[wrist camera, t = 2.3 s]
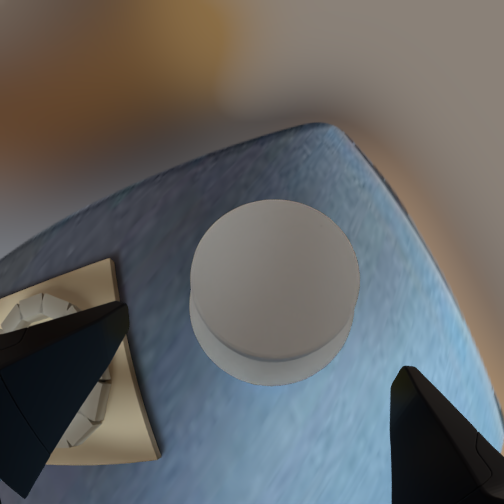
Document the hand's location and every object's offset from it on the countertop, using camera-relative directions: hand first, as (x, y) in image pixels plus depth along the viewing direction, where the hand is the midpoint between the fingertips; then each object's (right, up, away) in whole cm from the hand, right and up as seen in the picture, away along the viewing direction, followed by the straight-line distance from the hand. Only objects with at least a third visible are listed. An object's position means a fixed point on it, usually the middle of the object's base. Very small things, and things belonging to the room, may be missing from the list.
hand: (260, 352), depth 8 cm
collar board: (-15, -6, +8) cm, 18 cm away
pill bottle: (+1, -2, +10) cm, 10 cm away
